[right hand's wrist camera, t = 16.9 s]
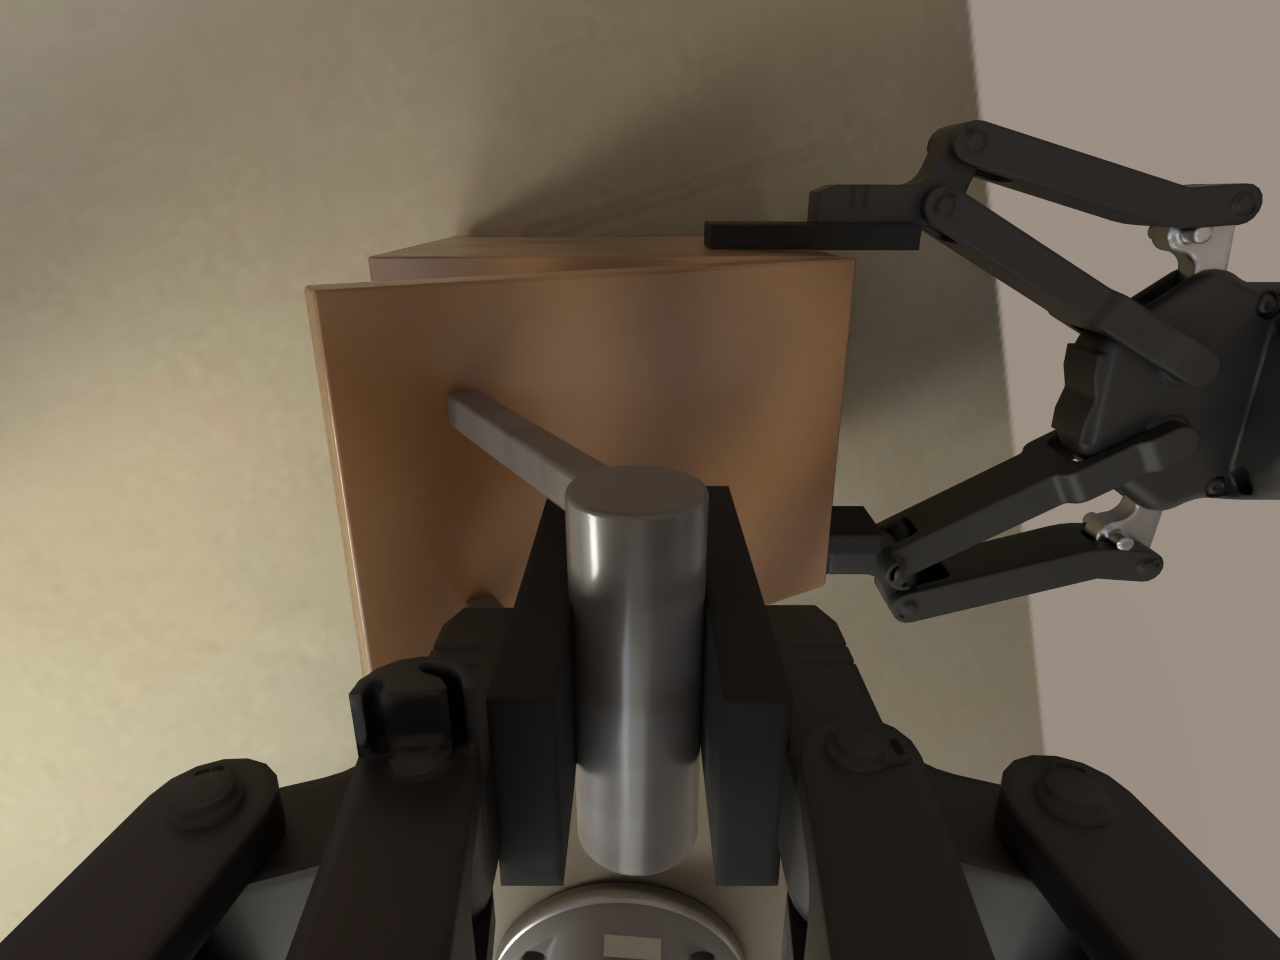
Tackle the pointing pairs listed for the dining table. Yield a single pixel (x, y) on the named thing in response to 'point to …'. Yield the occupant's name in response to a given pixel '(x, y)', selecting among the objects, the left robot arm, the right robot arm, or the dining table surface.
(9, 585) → the dining table surface
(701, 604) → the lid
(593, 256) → the wooden box
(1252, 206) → the left robot arm
